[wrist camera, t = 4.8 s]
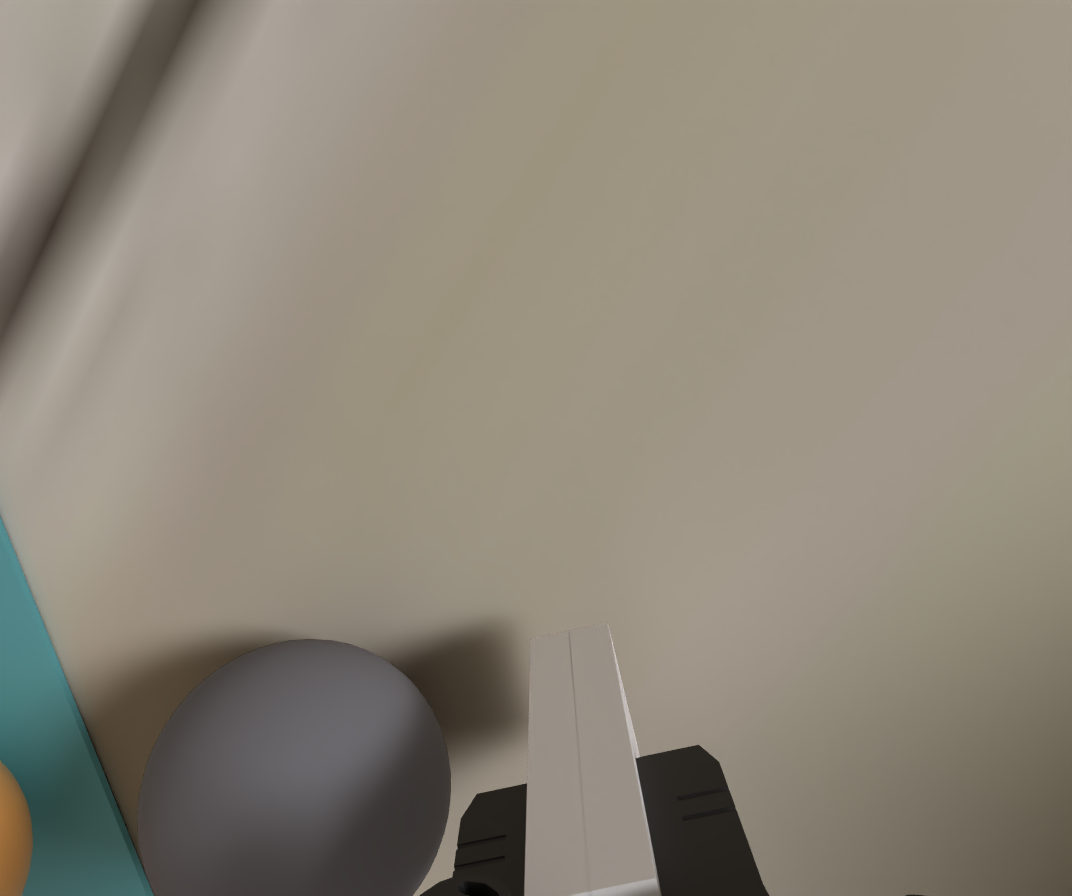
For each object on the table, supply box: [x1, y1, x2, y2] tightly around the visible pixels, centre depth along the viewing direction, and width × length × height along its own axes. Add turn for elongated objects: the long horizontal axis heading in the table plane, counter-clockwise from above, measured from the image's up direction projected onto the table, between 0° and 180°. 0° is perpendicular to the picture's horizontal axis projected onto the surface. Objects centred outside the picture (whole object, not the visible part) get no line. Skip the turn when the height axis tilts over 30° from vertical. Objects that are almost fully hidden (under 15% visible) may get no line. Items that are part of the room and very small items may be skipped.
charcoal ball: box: [137, 639, 451, 896], centre depth 15 cm, size 6×6×6 cm
